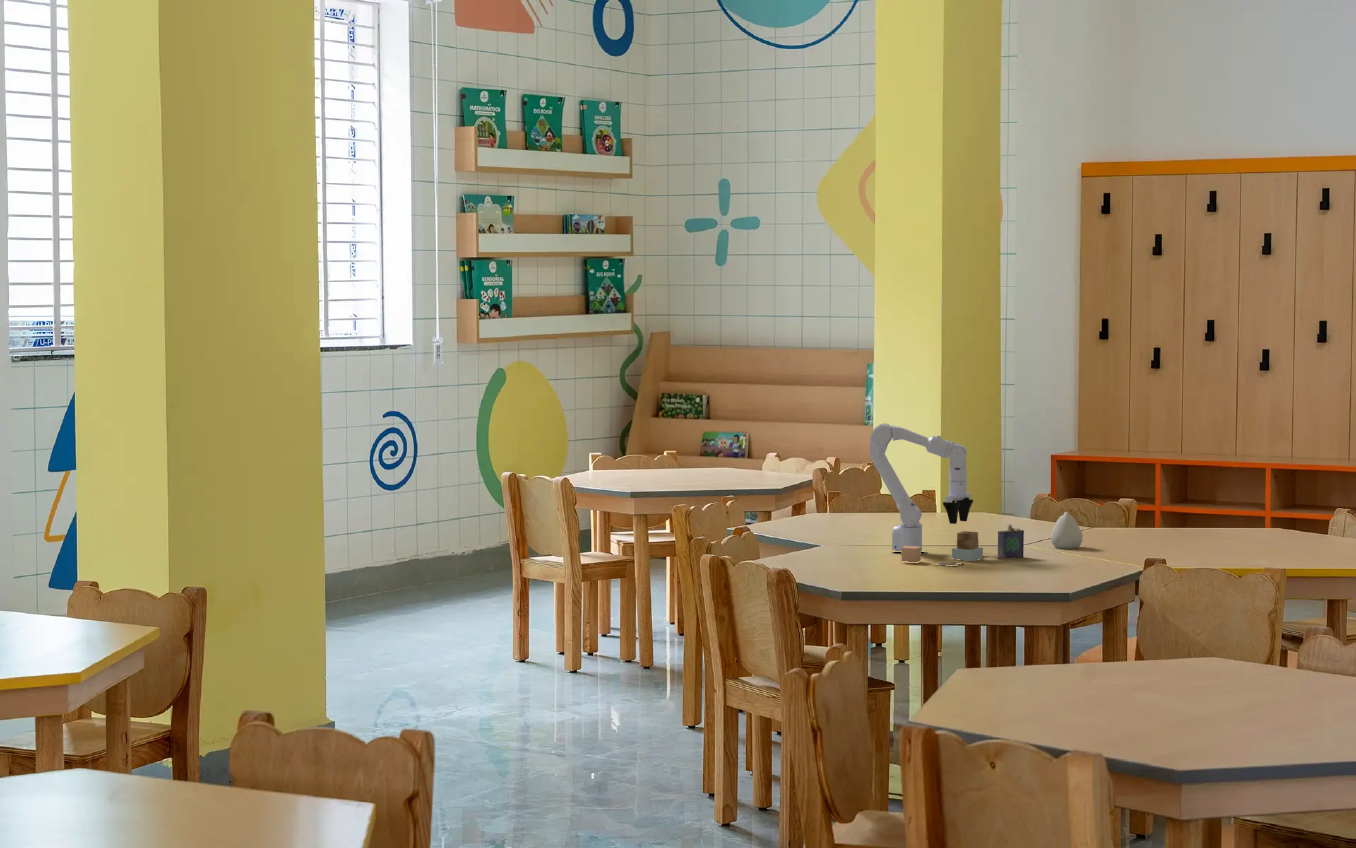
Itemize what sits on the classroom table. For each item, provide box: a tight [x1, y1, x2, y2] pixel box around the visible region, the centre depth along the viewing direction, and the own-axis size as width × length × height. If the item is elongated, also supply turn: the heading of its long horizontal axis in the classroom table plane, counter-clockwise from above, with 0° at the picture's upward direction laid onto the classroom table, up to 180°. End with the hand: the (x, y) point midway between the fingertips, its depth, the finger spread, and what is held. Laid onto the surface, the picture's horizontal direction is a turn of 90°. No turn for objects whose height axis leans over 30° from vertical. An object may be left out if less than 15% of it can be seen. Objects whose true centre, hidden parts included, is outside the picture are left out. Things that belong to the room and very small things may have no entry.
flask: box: [997, 524, 1025, 560], centre depth 466 cm, size 9×3×11 cm, turn 109°
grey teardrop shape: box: [1050, 511, 1084, 550], centre depth 488 cm, size 10×10×12 cm
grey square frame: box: [938, 560, 960, 566], centre depth 453 cm, size 7×7×1 cm
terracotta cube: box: [901, 546, 922, 562], centre depth 459 cm, size 5×5×5 cm
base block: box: [951, 547, 984, 562], centre depth 464 cm, size 7×7×4 cm
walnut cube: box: [956, 530, 979, 550], centre depth 463 cm, size 5×5×5 cm
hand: (958, 522), depth 476 cm, fingers open, 7 cm apart
